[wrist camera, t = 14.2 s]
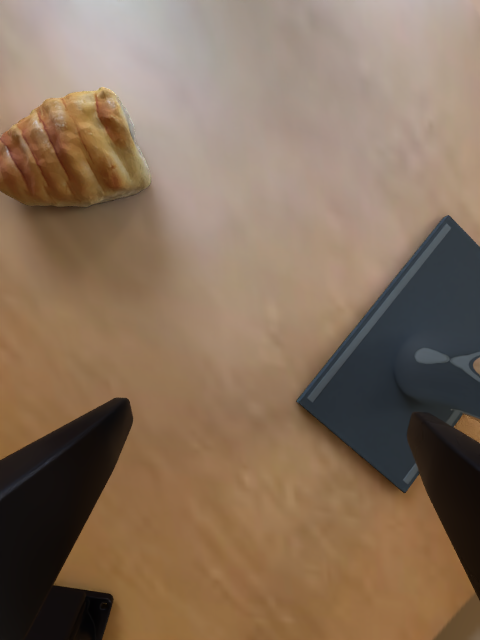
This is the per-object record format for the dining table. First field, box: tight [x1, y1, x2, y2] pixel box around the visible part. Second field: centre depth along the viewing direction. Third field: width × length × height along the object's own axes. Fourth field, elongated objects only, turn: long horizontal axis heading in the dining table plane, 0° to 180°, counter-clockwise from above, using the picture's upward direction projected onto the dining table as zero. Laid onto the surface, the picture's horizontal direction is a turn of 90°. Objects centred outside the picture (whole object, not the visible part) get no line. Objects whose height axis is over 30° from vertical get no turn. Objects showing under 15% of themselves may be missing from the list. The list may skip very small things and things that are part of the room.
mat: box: [297, 215, 480, 493], centre depth 23 cm, size 20×12×1 cm, turn 139°
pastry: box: [0, 87, 151, 207], centre depth 17 cm, size 9×7×4 cm
